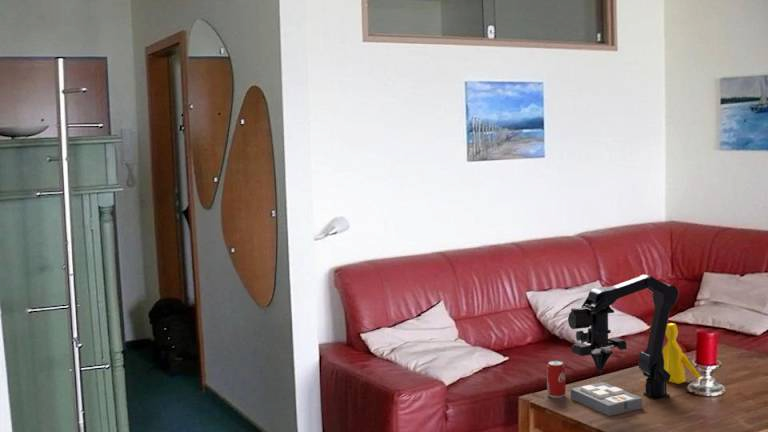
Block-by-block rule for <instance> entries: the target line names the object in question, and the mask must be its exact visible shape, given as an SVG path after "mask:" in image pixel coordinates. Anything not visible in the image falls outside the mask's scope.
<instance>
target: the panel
mask: <svg viewBox="0 0 768 432" xmlns="http://www.w3.org/2000/svg"><path fill="white" fill-rule="evenodd" d="M590 385H592V386H594V387H598V386H603V385H605V386H607V387H609V388H611V387H615V385H611V384H609V383H606V382H603V381H600V382H597V383H591V384H590ZM581 387H582V386H577V387H574V388H570V399H572V400H573V401H575V402H578V403H579V404H582V405H585V406H586V407H588V408H590V409H593V410H595V411H596V412H597V411H598V412H600V413H602V414H603V415H605V414H606V416H608V417H610V416H614V415H615V416H616V415H619V414H624V413H627V412H628V413H629V412H633V411H636V410H641V409H643V397H642V396H639V395H636V394H633V393H631V392H628V391H626V390H624V389H623V394H620V395H615V396H613V395H611V394H609V397H606V398H602V399H598V398H596V397H594V396H592V393H590V394H587V393H585V392H582V391H581ZM598 390H599V389H598ZM604 391H606V390H604Z"/></svg>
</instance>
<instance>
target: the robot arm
mask: <svg viewBox="0 0 768 432" xmlns="http://www.w3.org/2000/svg"><path fill="white" fill-rule="evenodd" d="M646 289H647V290H649V291H650V292H652V302H653V304H654V312H653V317H652V320H651V327H650V333H649V336H648V337H649V338H648V342H647V347H646V349H644V351H639V353H638V355H639V356H638V361H637V364H638V369H640V371H641V372H642V374H643V376H644V377H646V379H645V381H646V382H645V392H643V393H642V394H643V395H644V396H646V397H648V398H651V399H653V400H659V399H665V398H668V397H670V396H671V394H669V393H668V392H667V391H668V390H667V385H668V384H667V382H668V381H669V380H670V376H671V375H670V374H669V373H668V372H667V371H666V370H665V369H664V358H663V357H664V356H663V348H664V347H663V346H664V343H665V342H664V341H665V337H666V334H665V332H666V327H667V324H668V322H669V316H670V311H671V310H672V308H673V307H674V306H675V305H676V303H677V301H678V297H679V294H680V293H679V290H678V289H677V286H675V285H672V284H669V283H666V282H663V281H660V280H659V279H657V278H655V277H653V275H649V274H645V273H644V274H641V275H639V276H638V277H634V278H631V279H630V280H626V281H624V282H620V283H618V284H615V285H612V286H601V287H594V288H592V289H590V290H589V292H588V296H587V297H586V299H585V300H584V302H583V304H582V305H581V307H580V308H579V307H578V308H577V307H576V308H575V307H573V308H571V311H570V312H569V314H568V316H567V322H568V326H569V327H570V328H571V330H578V329H587V332H584V330H578V331H576V332H575V338H576V341H577V342H578V341H580V342H578V343H574V344H573V345H572V346H571V352H572V353H573V354H575V355H578V356H581V357H585V356H591V358H592V361H593V362H594V366H595V368H596V370H597V372H599V373H602V371H603V370H604V367H605V365H606V363H607V361H608V359H609V358H610V357H611V355H612V354H614V351H612V350H611V348H617V349H618V350H620V351H622V350H627V349H628V347H627V346H628V345H627V344H628V343H627V341H626V340H625V339H621V338H618V337H611V338H609V334H611V332H612V331H611V329H609V314H614V313H615V310H614V309H612V308H611V306H612V305H614V304H615V303H616V302H617V300H619V299H621V298H624V297H626V296H629V295H632V294H635V293H637V292H641V291H643V290H646Z"/></svg>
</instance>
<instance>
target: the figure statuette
mask: <svg viewBox="0 0 768 432" xmlns="http://www.w3.org/2000/svg"><path fill="white" fill-rule="evenodd" d="M678 329H679V328H678V326H677V324H676V323H672V322H670V323H667V327H666V332H665V337H666V340H667V342H666V343H665V345H663V346H664V347H663V348H662V354H663V358H664V369H665V370H666V371H667V372H668V373H669V374H670V375H671V376H670V380H669V381H667V382H668V383H673V384H677V385H680V384H682V383H685V382H687V380H686V372H685V368H684V366H685V367H686V368H687V369H688V370H689V372H690V373H691V374H692V375H693V376H694V377H695V378H696V379H698V378H700V377H701V375H700V374H699V372H698V371H697V369H696V368H695V367H694V365H692V364H691V362H690V360H689V359H688V357H687V355H686V354H685V353H684V352H683V350H682V348H681V345H679V343H678V342H677V337H678V334H679V330H678Z"/></svg>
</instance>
